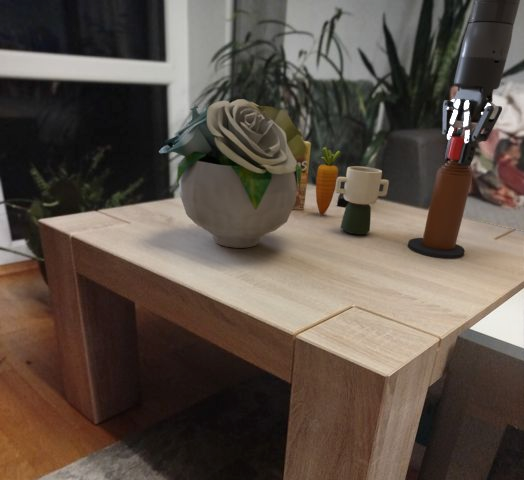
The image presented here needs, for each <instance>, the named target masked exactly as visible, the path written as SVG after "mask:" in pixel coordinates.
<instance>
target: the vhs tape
mask: <svg viewBox="0 0 524 480" xmlns="http://www.w3.org/2000/svg"><path fill="white" fill-rule="evenodd" d="M341 189H344V187H341ZM343 195H344V194H339V195H338V197H337V203H336V204H337V205H336V206H337V207H343V208H346V206H347V204H348V203H349V202H348V201H346V200H345V199H344V196H343Z"/></svg>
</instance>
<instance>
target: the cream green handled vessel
mask: <svg viewBox="0 0 524 480" xmlns="http://www.w3.org/2000/svg"><path fill="white" fill-rule="evenodd" d="M382 176H383V171H382V170H381V169H379V168H374V167H369V166H360V165H359V166H358V165H356V166H348V167H347V168H346V175H345V176H337V180H336V186H335V191H334V193H336V194H339V195H340V194H344V195H343V196H344V199H345V200H346V201H348V202H349V203H348V204H347V206H346V207H345V209H344V213H343V215H342V219H341V224H340V229H342V230H343V231H345V232H346V233H350V234H355V235H363V234H364V235H365V234H368V233H369V232H370V231H371V217H372V216H371V215H372V213H371V212H372V208H371V205H373V204H376V203H377V201H378V197H386V196H387V195H388V190H389V184H390V181H389V179H383V178H382ZM342 183H344V187H343V188H344V189H342V188H341V184H342ZM381 185H383V188H382V190H380V187H381Z"/></svg>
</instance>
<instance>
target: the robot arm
mask: <svg viewBox="0 0 524 480" xmlns="http://www.w3.org/2000/svg"><path fill="white" fill-rule="evenodd" d="M520 3H521V0H473V2H472V7H471V11H470V15H469V20H468V24H467V27H466V31H465V33H464V36H463V40H462V45H461V48H460V53H459V58H458V62H457V66H456V70H455V75H454V81H453V85H454V87H457V91H456V93H455V95H454V98H453V99H451V100H450V99H449V100H448V99H446V100H445V99H444V101H443V103H442V130H441V133H442V135H444V136H446V139H447V145H446V149H445V154H444V161H445V162H448V160H450V158H447V155H448V150H449V145H450V141H451V138H452V136H460V137H465V139H464V142H465V143H466V144H464V143H463V146H462V150H461V154H460V158H459V163H458V164H459V165H460V166H469V167H471V164H472V163H473V160H474V156H475V152H476V148H477V145H479V144H480V143H483V142H487V141H488V139H489V137H490V136H491V134H492V131H493V129H494V128H495V125H496V124H497V122H498V119H499V118H500V116H501V114H502V112H503V107H502V106H501V105H496V104H495V103H494V102H493V93H494V91H495V90H497V89H499V88H500V86H501V82H502V78H503V75H504V70H505V67H506V63H507V60H508V55H509V53H510V48H511V45H512V39H513V30H514V25H515V23H516V19H517V15H518V11H519V8H520ZM449 125H450V127H449ZM483 130H484V131H483ZM482 131H483V132H482Z"/></svg>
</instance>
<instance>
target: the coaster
mask: <svg viewBox="0 0 524 480" xmlns="http://www.w3.org/2000/svg"><path fill="white" fill-rule="evenodd" d="M422 240H423V237H415V238H414V237H413V238H410V239H408V241H407V248H408V249H409V250H411V251H413V252H414V253H416V254H420V255H423V256H426V257H431V258H436V259H459V258H462V257H463V256H465V252H466V250H465V248H464V247H463V246H461V245H459V244H457V243H456V246H455V248H454V249H452V250H437V249H432V248H429V247H426V246H424V245H423V244H422Z"/></svg>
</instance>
